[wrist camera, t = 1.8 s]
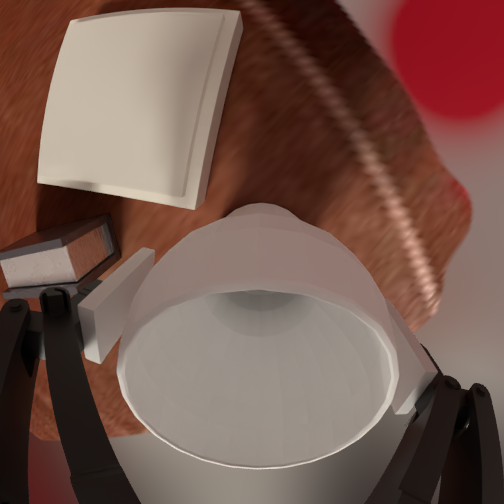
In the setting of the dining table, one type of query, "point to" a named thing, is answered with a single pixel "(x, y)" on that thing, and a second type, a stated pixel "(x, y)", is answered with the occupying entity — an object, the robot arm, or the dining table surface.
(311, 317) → the cup
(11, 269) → the napkin holder
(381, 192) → the dining table surface
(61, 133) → the pedestal
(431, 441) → the robot arm
